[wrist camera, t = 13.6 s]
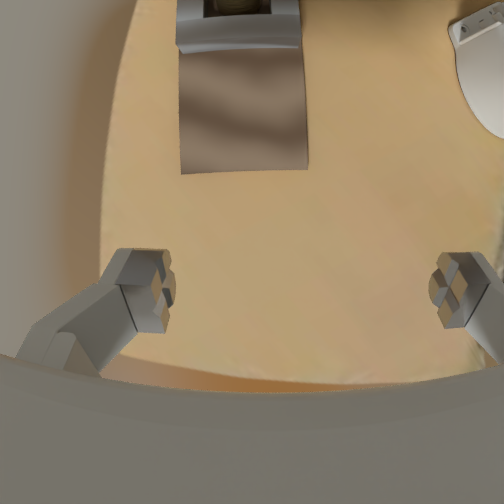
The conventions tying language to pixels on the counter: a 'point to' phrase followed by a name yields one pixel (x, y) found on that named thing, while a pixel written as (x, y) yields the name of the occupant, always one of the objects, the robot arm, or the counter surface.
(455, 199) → the counter surface
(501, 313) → the robot arm
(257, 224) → the counter surface
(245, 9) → the translucent yellow cylinder
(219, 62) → the jig
